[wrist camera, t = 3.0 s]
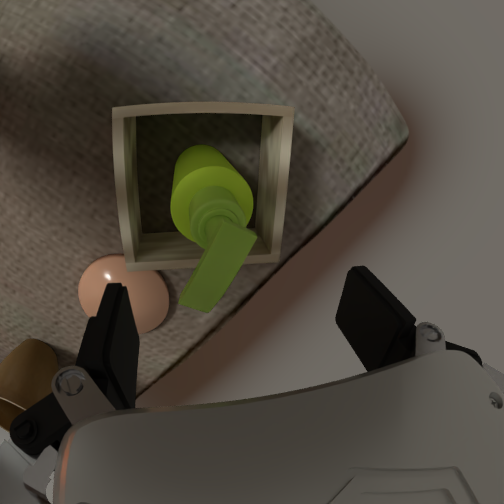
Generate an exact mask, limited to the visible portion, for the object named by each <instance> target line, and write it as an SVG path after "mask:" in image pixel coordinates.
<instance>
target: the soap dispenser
mask: <svg viewBox="0 0 504 504" xmlns="http://www.w3.org/2000/svg"><path fill="white" fill-rule="evenodd" d="M170 209H171V216H172V219H173V222H174V224H175V226H176V227H177V229H178V230H179V231H180V232H181V233H182V234H183V235H184V236H185V237H186V238H188V239H189V240H191V241H194V242H196V243H197V244H198V245H199V246H200V247H202V248H203V249H205V251H204V253H203V255H202V257H201V259H200V260H199V262H198V264H197V266H196V268H195V270H194V272H193V274H192V276H191V277H190V279H189V281H188V283H187V284H186V286H185V288H184V289H183V291H182V292H181V294H180V298H179V302H178V304H181V305H184V306H187V307H190V308H193V309H196V310H199V311H202V312H206V313H209V312H210V311H211V310H212V309H213V307H214V306H215V305H216V304H217V303H218V301H219V300H220V299H221V297H222V296H223V295H224V293H225V292H226V290H227V289H228V287H229V286H230V284H231V283H232V281H233V279H234V278H235V276H236V274H237V273H238V271H239V269H240V268H241V266H242V264H243V262H244V261H245V259H246V257H247V255H248V253H249V252H250V250H251V248H252V246H253V244H254V243H255V241H256V239H257V235H256V233H255V232H253V231H251V230H249V229H247V228H246V226H247V224H248V222H249V220H250V218H251V215H252V212H253V196H252V192H251V189H250V187H249V185H248V184H247V182H246V181H245V180H244V178H243V177H242V176H241V175H240V174H239V173H238V172H237V171H236V169H235V168H234V167H233V166H232V165H231V164H230V163H229V162H228V161H227V159H226V158H225V157H224V156H223V155H222V154H221V153H220V152H219V151H218V150H217V149H215V148H214V147H212V146H209V145H194V146H192V147H189V148H188V149H186V150H185V151H183V152H182V153H181V155H180V156H179V157H178V159H177V161H176V164H175V171H174V178H173V186H172V195H171V205H170Z"/></svg>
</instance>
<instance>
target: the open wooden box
mask: <svg viewBox="0 0 504 504" xmlns="http://www.w3.org/2000/svg"><path fill="white" fill-rule="evenodd" d="M178 113H239V114H259V115H262V130H261V145H260V160H259V175H258V190H257V205H256V220H255V228H247V229H249V230H251V231H253V232H255V233H256V235H257V239H256V241H255V243H254V244H253V246H252V248H251V250H250V252H249V253H248V255H247V257H246V259H245V261H244V262H243V264H257V263H271V262H279V259H280V251H281V242H282V233H283V224H284V215H285V206H286V196H287V186H288V176H289V165H290V154H291V143H292V132H293V119H294V107H290V106H280V105H269V104H256V103H238V102H172V103H155V104H142V105H131V106H122V107H114V108H112V139H113V161H114V176H115V188H116V198H117V208H118V216H119V224H120V231H121V238H122V245H123V251H124V257H125V262H126V268H127V272H134V271H151V270H167V269H183V268H196V266H197V264H198V262H199V260H200V259H201V257H202V255H203V253H204V251H205V249H203V248H202V247H200V246H199V245H198V244H197V243H196V242H194V241H191V240H189V239H188V238H186V237H185V236H184V235H183V234H182V233H181V232H180V231H178V232H161V233H146V234H142V225H141V215H140V204H139V191H138V175H137V151H136V116H144V115H158V114H178ZM243 264H242V265H243Z"/></svg>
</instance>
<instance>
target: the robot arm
mask: <svg viewBox="0 0 504 504" xmlns="http://www.w3.org/2000/svg"><path fill="white" fill-rule="evenodd" d="M335 318H336V324H337V325H338V327H339V328H340V330H341V331H342V333H343V334H344V336H345V337H346V339H347V341H348V342H349V344H350V345H351V347H352V348H353V350H354V351H355V353H356V354H357V356H358V358H359V359H360V361H361V362H362V364H363V365H364V367H365V368H366V370H367V372H366V373H363V374H359V375H356V376H352V377H349V378H345V379H341V380H337V381H333V382H329V383H325V384H321V385H317V386H313V387H308V388H304V389H299V390H294V391H289V392H284V393H279V394H273V395H268V396H262V397H255V398H248V399H242V400H235V401H226V402H217V403H207V404H196V405H184V406H168V407H149V408H135V398H136V380H137V367H138V355H139V345H140V341H139V335H138V331H137V327H136V323H135V319H134V315H133V311H132V307H131V303H130V299H129V294H128V290H127V287H126V286H122V283H107V285H106V288H105V290H104V293H103V296H102V299H101V302H100V305H99V308H98V311H97V314H96V316H91V317H90V319H89V321H88V324H87V327H86V330H85V333H84V336H83V340H82V343H81V347H80V350H79V353H78V357H77V361H76V364H75V366H67V367H64V368H62V369H61V370H59V371H58V372H57V373H56V374H55V375H54V377H53V379H52V384H51V388H52V391H53V392H52V393H50V394H49V395H47V396H46V397H44V398H43V399H41V400H40V401H38V402H37V403H35V404H34V405H33V406H31V407H30V408H28V409H27V410H25V411H24V412H22V413H21V414H19V415H18V416H17V417H16V418H14V419H13V421H12V423H11V425H10V437H11V438H10V439H9V440H8V442H7V441H6V440H4V441H3V442H2V444H1V445H0V504H51V503H50V502H49V501H48V499H47V497H46V487H47V485H48V483H49V482H50V480H51V479H50V478H49V476H50V475H51V473H52V472H53V471H55V473H54V485H53V504H504V374H502V373H501V372H499V371H497V370H496V369H494V368H492V367H491V366H489V365H487V364H485V363H484V364H483V365H482V361H481V358H480V357H479V356H478V354H477V352H475V351H474V350H471V349H468V348H465V347H462V346H459V345H456V344H453V343H450V342H447V341H445V336H444V333H443V332H442V330H441V329H440V328H439V327H438V326H436V325H435V324H432V323H429V322H422V323H420V324H418V325H417V327H416V326H415V325H414V324H415V322H416V318H415V317H414V316H413V315H412V314H411V313H410V312H409V311H408V309H407V308H406V307H405V306H404V305H403V304H402V303H401V302H400V301H399V300H398V299H397V298H396V297H395V296H394V295H393V294H392V293H391V292H390V291H389V290H388V289H387V288H386V287H385V285H384V284H383V283H382V282H380V280H378V279H377V277H376V276H375V275H374V274H373V273H372V272H370V270H368V268H367V267H365V266H354V267H352V268H351V270H349V271H348V273H347V277H346V281H345V285H344V288H343V292H342V296H341V299H340V303H339V306H338V310H337V314H336V317H335Z"/></svg>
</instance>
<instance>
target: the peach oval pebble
mask: <svg viewBox="0 0 504 504" xmlns="http://www.w3.org/2000/svg"><path fill="white" fill-rule="evenodd" d="M107 283H122V286H126V287H127V290H128V294H129V299H130V303H131V307H132V311H133V315H134V319H135V323H136V327H137V331H138V334H143V333H146V332H149V331H151V330H153V329H154V328H156V327H157V326H158V325H160V323H161V322H162V321H163V320H164V318H165V317H166V315H167V312H168V309H169V291H168V287H167V284H166V282H165V280H164V278H163V277H162V276H161V274H160V273H159V272H158V271H157V270H151V271H134V272H127V268H126V262H125V257H124V254H110V255H106V256H102V257H100V258H98V259H96V260H95V261H93V262H92V263H91V264H90V265H89V266H88V267H87V268H86V270H85V271H84V273H83V275H82V277H81V280H80V282H79V288H78V294H79V300H80V303H81V305H82V308H83V309H84V311H85V313H86V314H87V315H88V316H89V318H90V317H91V316H96V314H97V311H98V308H99V305H100V302H101V299H102V296H103V293H104V290H105V288H106V285H107Z"/></svg>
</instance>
